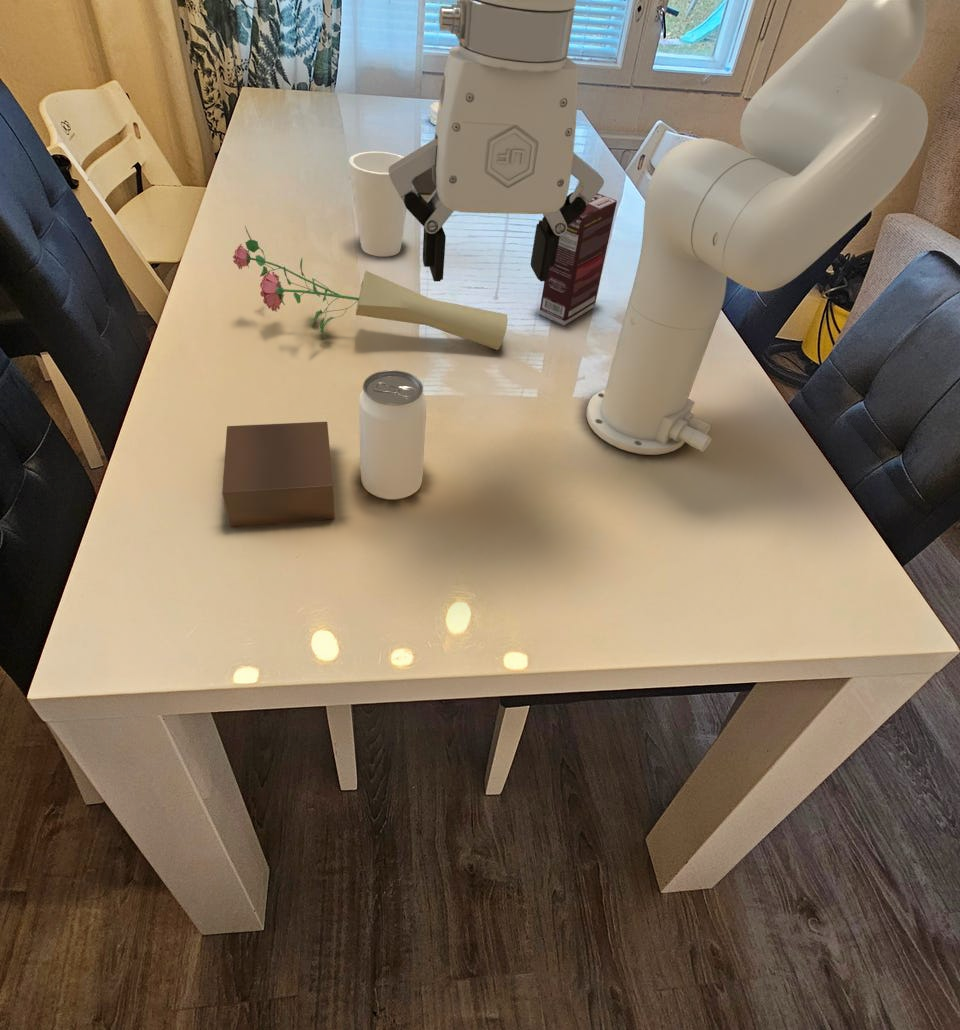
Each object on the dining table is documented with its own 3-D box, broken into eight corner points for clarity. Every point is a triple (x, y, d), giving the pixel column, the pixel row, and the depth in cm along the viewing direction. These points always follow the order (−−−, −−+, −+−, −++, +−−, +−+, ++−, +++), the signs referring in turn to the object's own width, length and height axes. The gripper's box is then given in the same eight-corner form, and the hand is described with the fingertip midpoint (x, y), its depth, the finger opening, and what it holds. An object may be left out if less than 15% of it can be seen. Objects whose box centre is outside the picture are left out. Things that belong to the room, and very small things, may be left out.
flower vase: (478, 405, 98) (218, 341, 90) (483, 339, 104) (238, 272, 95) (508, 352, 88) (218, 274, 80) (511, 281, 94) (241, 201, 85)
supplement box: (569, 295, 108) (590, 189, 97) (595, 307, 106) (620, 200, 95) (536, 314, 103) (554, 204, 92) (563, 327, 101) (585, 216, 90)
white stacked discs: (480, 124, 164) (482, 107, 162) (457, 133, 158) (458, 116, 155) (445, 113, 167) (446, 97, 165) (421, 122, 161) (421, 105, 158)
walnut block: (329, 454, 77) (327, 421, 73) (335, 519, 70) (332, 485, 67) (233, 459, 75) (226, 425, 71) (229, 526, 68) (221, 492, 65)
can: (413, 507, 72) (417, 413, 64) (352, 494, 72) (348, 399, 64) (429, 468, 77) (435, 374, 68) (371, 456, 77) (370, 362, 69)
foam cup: (343, 238, 115) (340, 153, 105) (396, 232, 118) (397, 149, 109) (364, 264, 109) (362, 176, 100) (419, 257, 112) (422, 172, 103)
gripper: (393, 36, 44) (390, 296, 56) (653, 55, 47) (597, 295, 59) (381, 10, 49) (381, 253, 61) (616, 29, 52) (571, 255, 64)
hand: (487, 273), depth 60 cm, fingers open, 8 cm apart
